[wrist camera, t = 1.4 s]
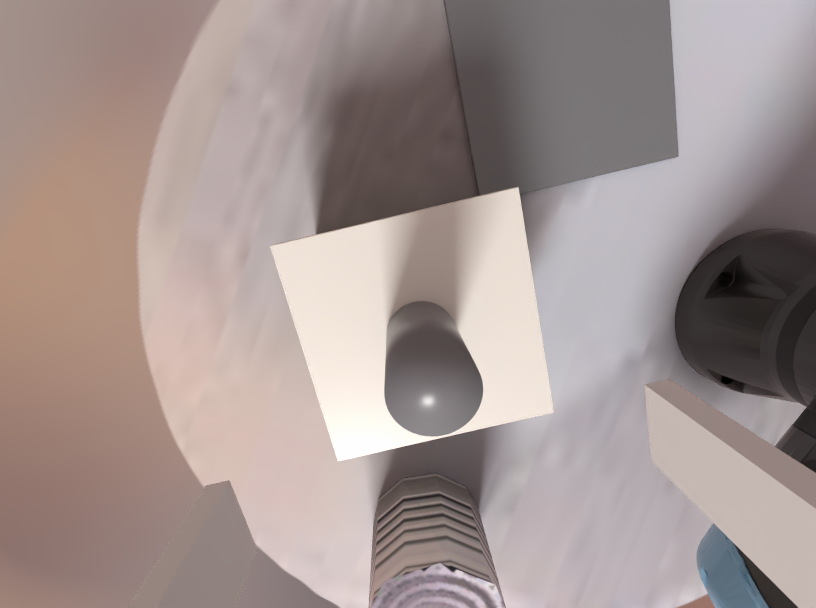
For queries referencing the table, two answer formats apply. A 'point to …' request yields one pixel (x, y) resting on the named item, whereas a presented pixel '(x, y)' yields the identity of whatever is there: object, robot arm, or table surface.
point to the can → (431, 548)
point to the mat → (563, 88)
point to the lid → (419, 323)
